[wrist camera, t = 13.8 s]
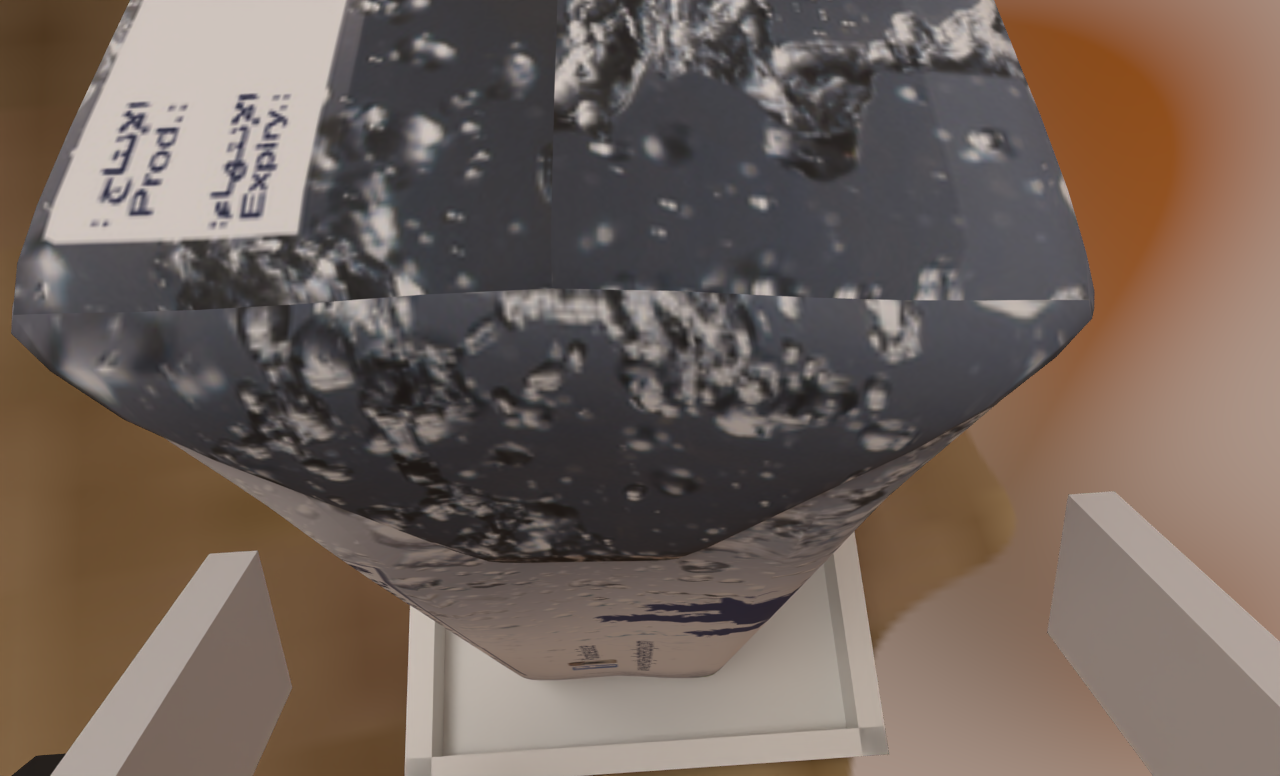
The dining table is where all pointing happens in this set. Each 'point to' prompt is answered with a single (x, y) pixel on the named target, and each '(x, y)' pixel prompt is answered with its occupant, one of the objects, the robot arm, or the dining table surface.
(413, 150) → the juice carton
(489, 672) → the carton tray
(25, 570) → the dining table surface
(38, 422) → the dining table surface
